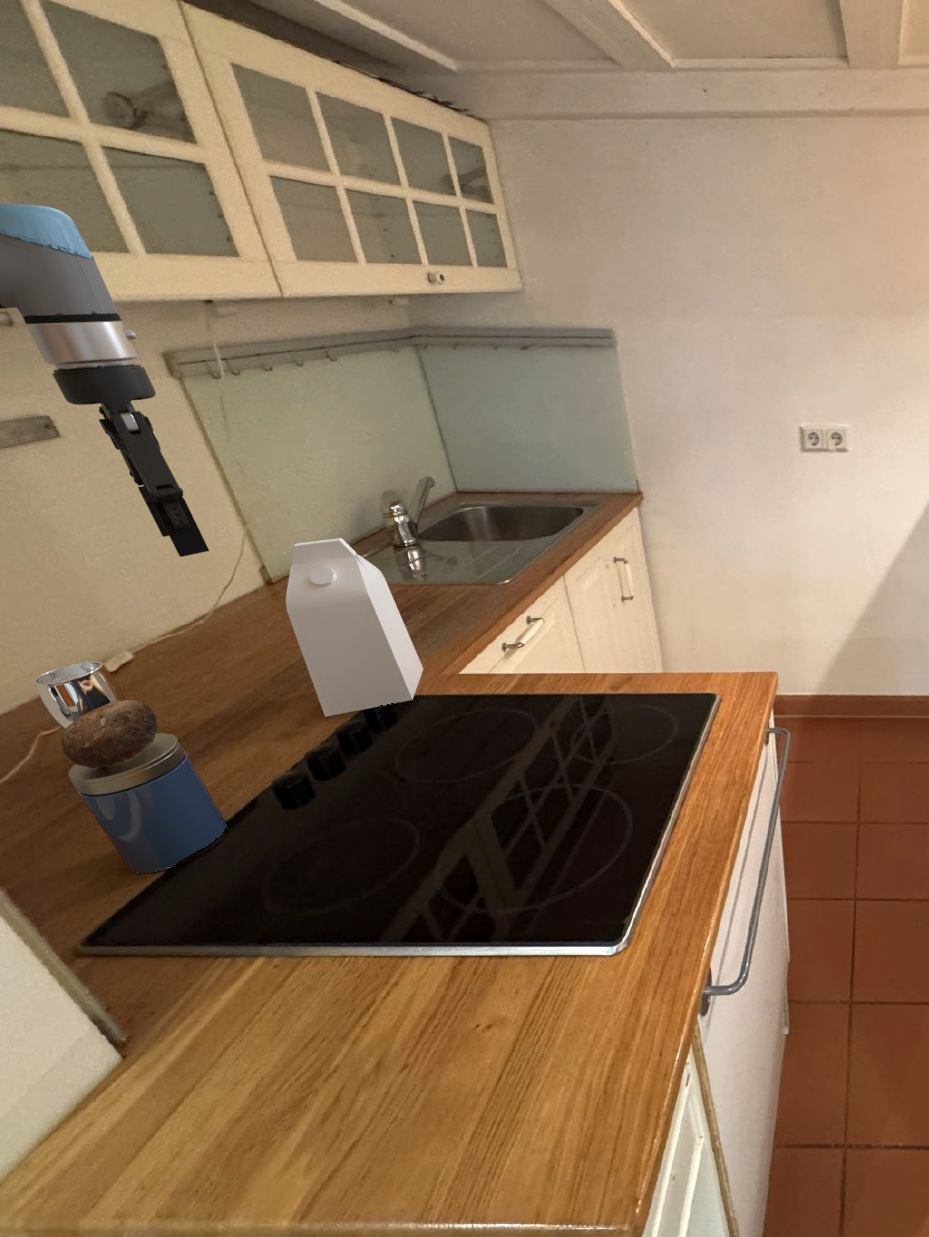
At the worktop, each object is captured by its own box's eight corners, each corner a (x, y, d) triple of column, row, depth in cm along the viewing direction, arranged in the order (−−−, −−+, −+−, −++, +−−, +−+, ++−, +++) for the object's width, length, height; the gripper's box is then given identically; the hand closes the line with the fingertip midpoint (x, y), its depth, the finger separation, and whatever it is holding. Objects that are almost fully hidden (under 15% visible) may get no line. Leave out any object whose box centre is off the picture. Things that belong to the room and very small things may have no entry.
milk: (423, 669, 122) (372, 526, 111) (412, 699, 113) (355, 547, 101) (343, 683, 118) (281, 537, 107) (325, 716, 109) (255, 559, 97)
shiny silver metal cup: (161, 744, 103) (109, 655, 96) (154, 766, 98) (98, 673, 91) (96, 762, 99) (38, 670, 93) (85, 786, 94) (22, 690, 88)
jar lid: (80, 806, 72) (69, 791, 72) (73, 774, 78) (64, 759, 77) (191, 766, 78) (183, 751, 78) (178, 738, 84) (170, 724, 83)
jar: (134, 886, 77) (73, 796, 72) (123, 850, 83) (66, 764, 77) (236, 841, 83) (187, 755, 78) (220, 811, 89) (173, 728, 83)
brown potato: (146, 700, 82) (99, 678, 76) (197, 732, 81) (154, 712, 75) (80, 757, 78) (26, 739, 72) (133, 791, 77) (82, 775, 71)
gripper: (156, 365, 74) (243, 553, 83) (128, 359, 89) (204, 519, 98) (55, 372, 69) (160, 572, 78) (43, 364, 84) (132, 533, 93)
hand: (185, 543), depth 88 cm, fingers open, 13 cm apart
